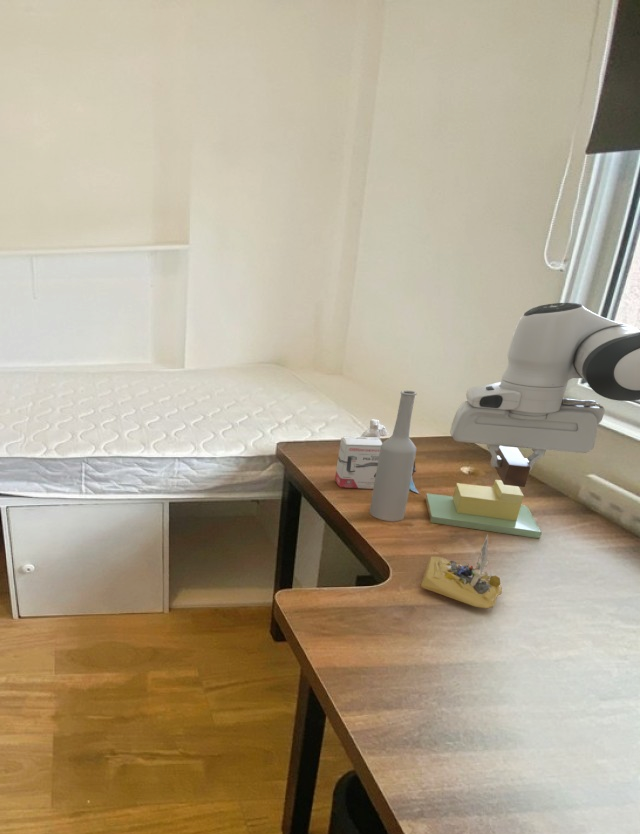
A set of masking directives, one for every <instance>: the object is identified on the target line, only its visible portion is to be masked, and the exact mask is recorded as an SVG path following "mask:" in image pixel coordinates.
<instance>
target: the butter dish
mask: <svg viewBox="0 0 640 834" xmlns="http://www.w3.org/2000/svg"><path fill="white" fill-rule="evenodd" d="M424 500H425V503H426V509H427V512H428V517H429V522H430V523H432V524H438V525H445V526H451V527H458V528H465V529H472V530H473V529H474V530H480V531H485V532H486V531H487V532H494V533H500V534H506V535H513V536H519V537H527V538H534V539H541V536H542V534H543V533H542V530H541V528H540V526H539V525H538V522H537V521H536V519H535V517H534V515H533V514H532V512H531V511H530V508H529V506H528V505H523V504H521V507H520V511H519V515H518V518H517V521H514V520H507V519H499V518H492V517H485V516H478V515H470V514H463V513H457V511H456V507H455V504H454V501H453V496H451V495H445V494H435V493H429V492H426V493H425V499H424Z"/></svg>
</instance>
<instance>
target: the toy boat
mask: <svg viewBox="0 0 640 834" xmlns="http://www.w3.org/2000/svg"><path fill="white" fill-rule="evenodd" d="M453 538H454V537H453V536H451V539H453ZM476 565H477V566H476V567H475V568H474V566H473V565H470V564H469V563H465V565H462V564H459V563H457V562H456V561H454V560H449V559H446V558H445V557H441V556H430V558H429V559H428V562H427V565H426V568H425V571H424V575H423V577H422V580H421V583H420V587H421V588H422V589H425V590H427V591H431V592H433V593H435V594H439V595H442V596H444V597H447V598H449V599H452V600H455V601H457V602H461V603H464V604H466V605H469V606H472V607H475V608H482V609H489V608H493V607H494V606H495V605H496V602H497V600H498V596H500V595H501V594H502V593H503V587H502V585H501V578H500V577H499V576H497V575H492V574H491V573H489V575H488V572H487V571H484V569H485V568H487V567H488V565H489V533H487V535H486V537H485V539H484V542H483V543H482V546H481V548H480V557H478V559H477V562H476Z"/></svg>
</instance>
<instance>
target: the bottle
mask: <svg viewBox="0 0 640 834" xmlns="http://www.w3.org/2000/svg"><path fill="white" fill-rule="evenodd" d="M417 395H418V393H417V392H416V391H413V390H401V391H400V399H399V405H398V409H397V415H396V419H395V424H394V428H393V430H392V431H393V432H392V435H391V436H390V437H388V438H386V440H384V441H383V443H382V445H381V449H380V455H379V460H378V466H377V471H376V477H375V482H374V488H373V489H372V495H371V500H370V506H369V514H370V515H371V516H373V518H376V519H379V520H382V521H384V522H385V521H386V522H400V521H402V520H404V518H405V515H406V509H407V504H408V499H409V493H410V489H409V488H410V483H411V477H412V478H413V473H414V472H413V466H414V461H415V462H416V460H415V459H416V454H417V447H416V444H414V442H413V441H412V439H411V438H410V430H411V420H412V414H413V409H414V403H415V397H416V396H417ZM412 472H413V473H412Z"/></svg>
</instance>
